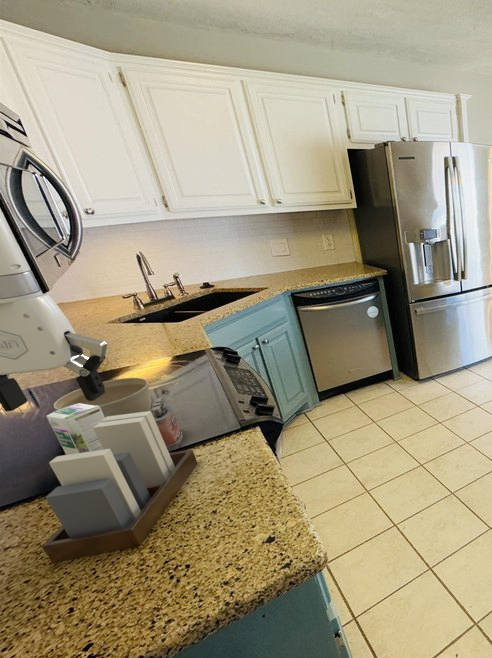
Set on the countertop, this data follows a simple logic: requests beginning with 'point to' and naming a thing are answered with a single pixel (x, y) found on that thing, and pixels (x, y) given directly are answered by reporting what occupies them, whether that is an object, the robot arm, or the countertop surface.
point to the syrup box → (77, 427)
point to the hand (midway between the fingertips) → (57, 401)
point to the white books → (137, 444)
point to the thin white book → (94, 473)
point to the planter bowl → (114, 397)
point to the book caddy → (135, 534)
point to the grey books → (98, 502)
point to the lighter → (167, 423)
